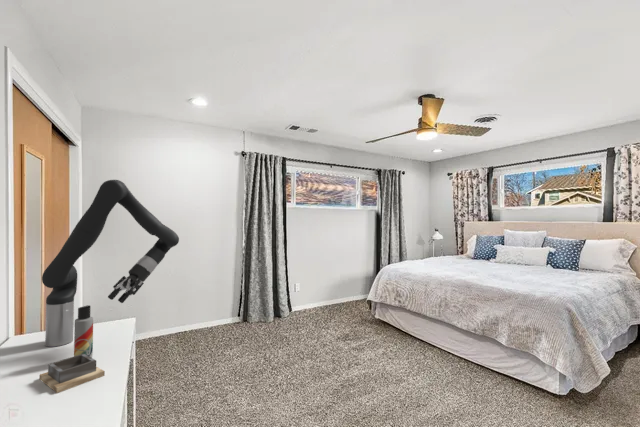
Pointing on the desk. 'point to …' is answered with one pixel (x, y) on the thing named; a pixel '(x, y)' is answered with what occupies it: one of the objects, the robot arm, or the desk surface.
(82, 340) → the lotion bottle
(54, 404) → the desk surface
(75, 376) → the socket board
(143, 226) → the robot arm
